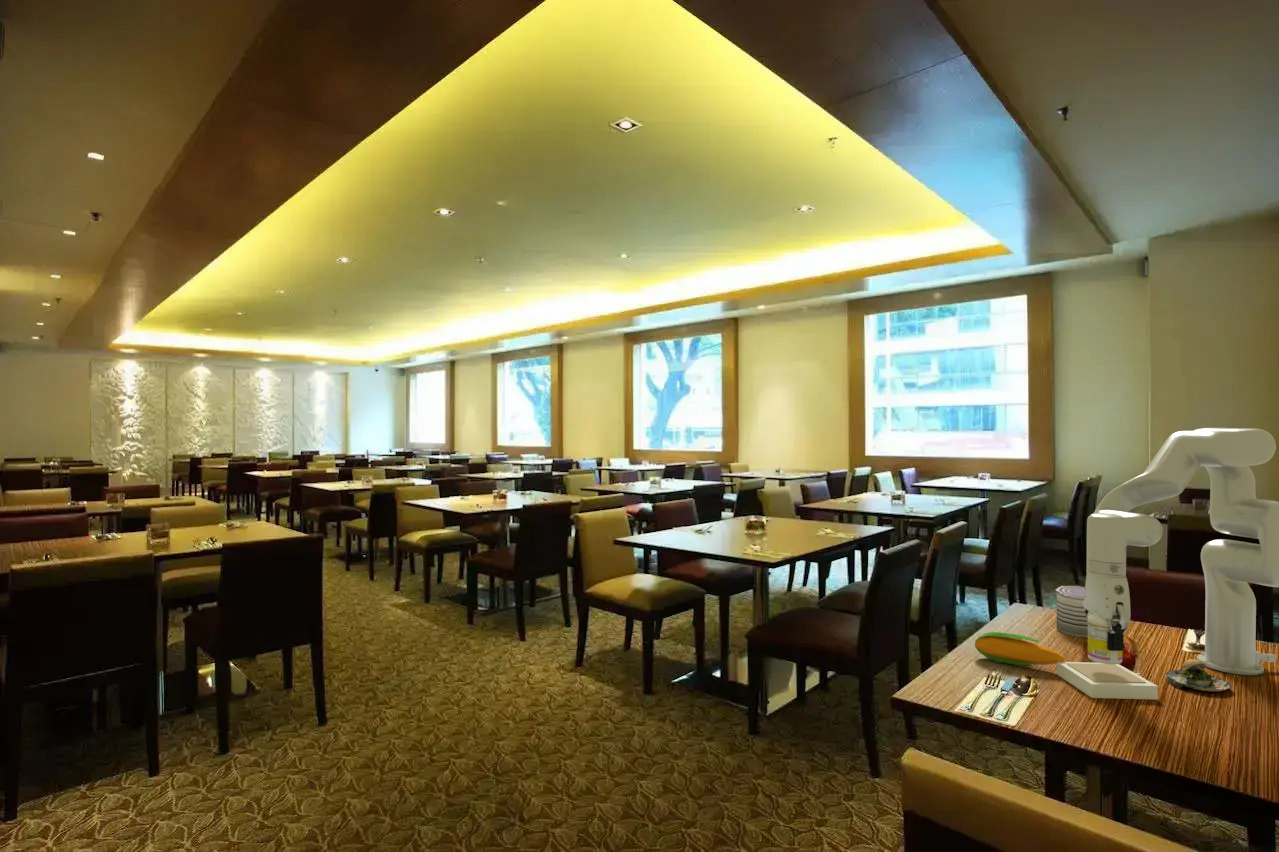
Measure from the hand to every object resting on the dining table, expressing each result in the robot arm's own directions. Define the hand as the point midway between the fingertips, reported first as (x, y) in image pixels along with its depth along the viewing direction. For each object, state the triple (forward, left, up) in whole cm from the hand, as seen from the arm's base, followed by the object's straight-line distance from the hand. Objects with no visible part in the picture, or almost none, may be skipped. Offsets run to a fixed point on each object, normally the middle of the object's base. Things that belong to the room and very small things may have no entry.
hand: (1104, 644), depth 157 cm
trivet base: (0, 0, -10) cm, 10 cm away
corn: (+13, -13, -10) cm, 21 cm away
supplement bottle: (0, 0, -4) cm, 4 cm away
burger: (-22, -2, -10) cm, 24 cm away
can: (-18, -42, -10) cm, 47 cm away
